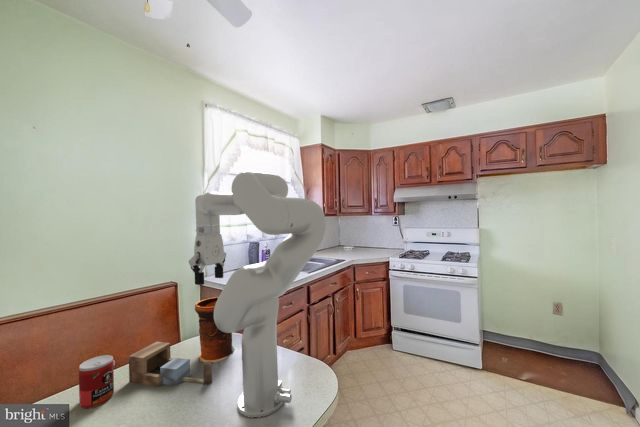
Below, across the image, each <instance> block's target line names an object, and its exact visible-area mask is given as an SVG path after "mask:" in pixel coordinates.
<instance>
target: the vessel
mask: <svg viewBox="0 0 640 427" xmlns="http://www.w3.org/2000/svg"><path fill="white" fill-rule="evenodd" d="M218 298H219V296H215V297H210V298H206V299H202V300H199V301H197V302H196V303H195V305H194V311H195V312H196V314H197V315H198V316H197V317H198V328H199V329H198V333H199V344H200V353H199V354H198V360H200V362H203V363H205V362H208V361H210V362H211V363H216V362H219V361H222V360H225V359H226V358H228V357H230V355H233V353H234V352H235V350H236V348H234V346H233V332H232V333H225V332H222V331H221V330H219V329H218V328H217V326H216V324H215V321H214V308H215V304H216V302H217V300H218Z"/></svg>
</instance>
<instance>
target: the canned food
mask: <svg viewBox="0 0 640 427" xmlns="http://www.w3.org/2000/svg"><path fill="white" fill-rule="evenodd" d="M114 381H115V380H114V357H113V355H109V354H106V355H104V354H103V355H99V356H95V357H91V358H89V359H87V360H85V361H83V362H82V363H81V364H79V367H78V395H79V397H78V400H79V405H80V407H81V408H83V409H92V408H95V407H97V406H101V405H102V404H105V403H107V402H108V401H109V400H110V399H112V397H113V395H114V393H115V392H114V391H115V390H114V389H115V384H114Z"/></svg>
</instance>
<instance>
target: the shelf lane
mask: <svg viewBox="0 0 640 427" xmlns="http://www.w3.org/2000/svg"><path fill="white" fill-rule="evenodd" d="M174 358H175V357H171V343H170V342H162V341H155V342H153V343H150V344H149V345H148V346H146V347H144V348H142V349H140V350H137V351H136V352H134V353H132V354H131V355H129V356H128V376H129V377H128V379H129V383H134V384H139V385H144V386H145V385H146V386H149V387H151V386H152V387H156V388H159V387H161V386H162V385H163V384H162V375H160V373H159V374H158V373H152V372H151V371H154V369H156V368H160V367H162V366H163V365H165V364H166V363H168V362H169V361H171V360H172V359H174Z"/></svg>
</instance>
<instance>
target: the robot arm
mask: <svg viewBox="0 0 640 427" xmlns="http://www.w3.org/2000/svg"><path fill="white" fill-rule="evenodd" d="M230 190H231V192H223V191H222V192H219V191H209V192H205V193H204V194H200V195H197V196H196V197H195V201H194V202H195V204H194V206H195V233H196V234H195V235H196V236H195V240H194V245H193V246H194V249H193V252H194V253H193V254H194V255H193V256H192V257H191V258H190V259H189V260H188V264H189V266H190V269H191V270H192V273H194V284H195V286H196V285H197V286H203V285H204V284H205V272H204V271H203V270H204V269H205V267H206V266H212V265H214V278H215V279H223V278H224V266H225V262H226V257H227V252H225V250H224V248H225V247H224V240H223V237H222V233H221V224H220V222H221V220H220V216H239V215H240V216H241V215H245V216H246V217H248V220H249V221H250V222H251V223H252V224H253V225H254V226H255V227H256V228H257V230H259V231H260V232H261V233H263V234H265V235H267V236H268V235H270V236H279V235H287V234H288V236H286V237H285V238H284V239H283V240H281V242H279V243H278V244H277V246H276V247H275V248H274V250H273V252H272V253H271V255H270V256H269V257H268V259H266V260H265V261H262V262H258V263H253V264H247V265H244V266H241V267H240V268H238V269H236V270H235V271H234V272H233V273H232V274H231V276H230V277H229V279H228V280H227V282H226V284H225V285H224V288H223V289H222V291H221V293H220V294H219V296H218V297H219V298H218V300H217V302H216V304H215V308H214V321H215V324H216V326H217V328H218V329H219V330H221V331H222V332H225V333H232V334H233V333H235V332H238V331H241V330H243V332H242V336H241V361H242V362H241V364H242V365H241V366H242V393H241V394H240V395H239V397H238V400H237V409H238V411H239V413H240V414H241V415H243V416H245V417H247V416H249V417H248V418H253V417H257V418H262V417H261V416H263V417H266V415H267V416H269V415H271V414H273V413H275V412H276V411H277V410H278V409H280V408H281V406H282V405H283V403H286V404H287V403H288V404H291V402H292V396H293V395H292V394H291V392H292V390H291V389H290V388H284V387H283V382H282V380H279V369H278V368H279V366H278V365H279V364H278V344H277V342H278V338H277V336H278V334H277V326H278V325H277V324H278V315H279V308H280V298H279V297H281V296H283V295H285V293H286V292H287V291H288V290H289V288H290V287H291V285H292V284H293V283H294V282H295V280H296V279H297V277H298V276H299V274H301V272H302V270H304V268H305V266H306V264H308V262H309V261H310V260H311V259H312V257H313V256H314V255H315V253H317V251H318V250H319V248H320V246H321V244H322V242H323V240H324V237H325V234H326V225H327V224H326V223H327V222H326V215H325V213H324V211H323V208H322V207H321V206H320V205H319V204H318V203H317V202H316V201H314V200H311V199H307V198H303V197H288V194H289V187H288V183H287V181H286V180H285V179H284V178H283V177H282V176H280V175H278V174H275V173H270V172H262V171H257V170H256V171H255V170H244V171H241V172H239V173H238V174H237V175H236V176H235V177H234V179H233V180H232V183H231V188H230Z"/></svg>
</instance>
